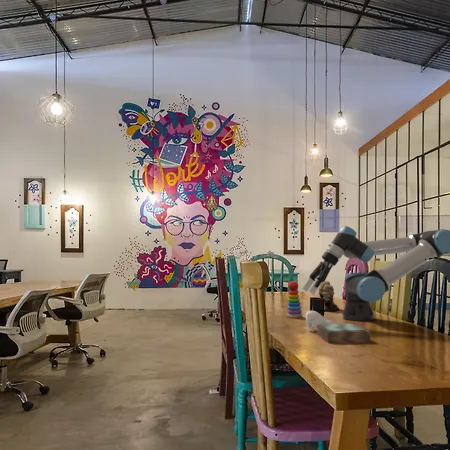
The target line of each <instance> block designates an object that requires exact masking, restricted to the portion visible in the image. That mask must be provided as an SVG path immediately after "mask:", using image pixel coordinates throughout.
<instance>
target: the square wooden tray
mask: <svg viewBox="0 0 450 450" xmlns="http://www.w3.org/2000/svg"><path fill="white" fill-rule="evenodd" d="M316 334H317V335H318V337H320V338H321V339H323V341H325V343H327V344H343V343H344V344H346V343H348V344H351V343H352V344H353V343H354V344H355V343H371V330H370V331H369V330H368V329H365V328H363V327H362V326H360V325H357V324H356V323H333V324H320V325H317V328H316Z"/></svg>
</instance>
